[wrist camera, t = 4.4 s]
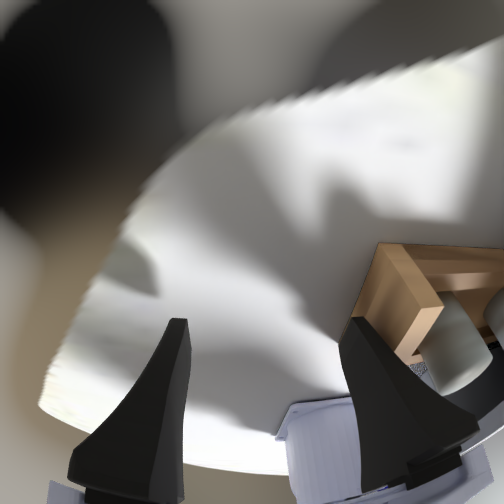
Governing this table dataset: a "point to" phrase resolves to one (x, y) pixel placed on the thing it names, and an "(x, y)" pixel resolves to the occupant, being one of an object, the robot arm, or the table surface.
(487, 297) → the teak tray
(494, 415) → the grey low stand
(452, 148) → the table surface
